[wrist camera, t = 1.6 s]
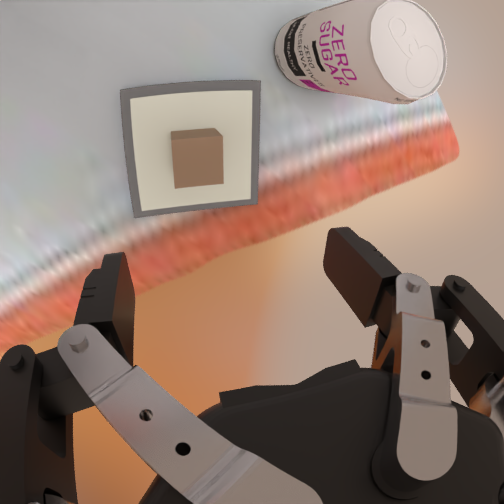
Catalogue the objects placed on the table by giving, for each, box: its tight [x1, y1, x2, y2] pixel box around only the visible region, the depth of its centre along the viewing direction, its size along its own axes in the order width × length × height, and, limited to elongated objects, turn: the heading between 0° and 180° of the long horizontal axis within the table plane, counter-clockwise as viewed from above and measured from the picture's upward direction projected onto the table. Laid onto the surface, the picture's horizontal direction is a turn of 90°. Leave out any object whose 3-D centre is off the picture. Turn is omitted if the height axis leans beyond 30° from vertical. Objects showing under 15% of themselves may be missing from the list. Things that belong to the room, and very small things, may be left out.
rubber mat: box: [120, 80, 261, 218], centre depth 27 cm, size 13×13×1 cm
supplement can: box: [275, 0, 447, 104], centre depth 19 cm, size 8×8×15 cm
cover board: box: [130, 90, 252, 211], centre depth 25 cm, size 11×11×5 cm
